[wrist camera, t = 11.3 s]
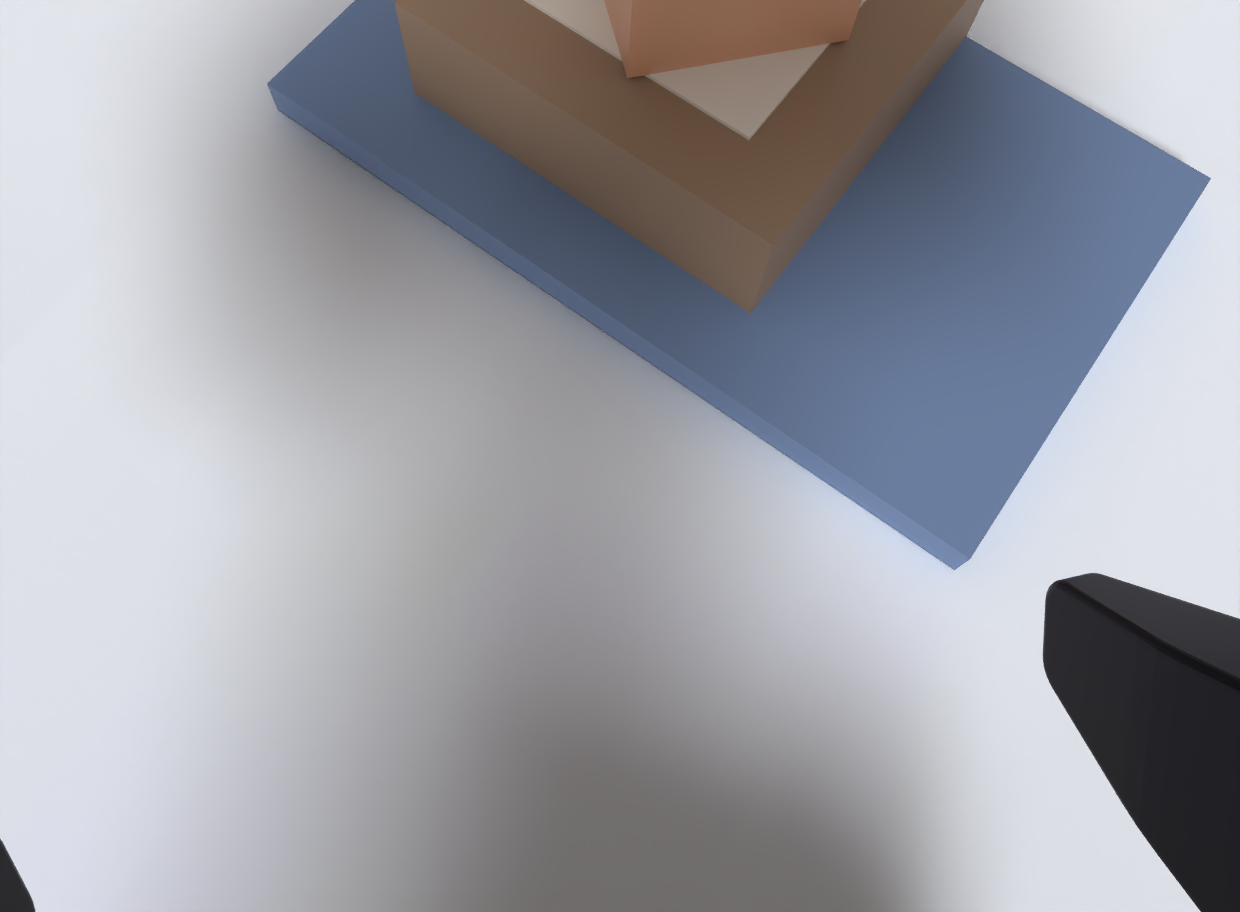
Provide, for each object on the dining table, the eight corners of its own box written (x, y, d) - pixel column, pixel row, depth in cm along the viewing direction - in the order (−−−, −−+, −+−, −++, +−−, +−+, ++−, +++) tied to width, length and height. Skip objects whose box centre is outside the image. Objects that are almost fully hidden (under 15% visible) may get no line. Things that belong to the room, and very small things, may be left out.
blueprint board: (1188, 201, 27) (1290, 95, 23) (954, 569, 24) (1027, 517, 20) (564, -164, 30) (562, -310, 27) (278, 109, 27) (227, -12, 23)
